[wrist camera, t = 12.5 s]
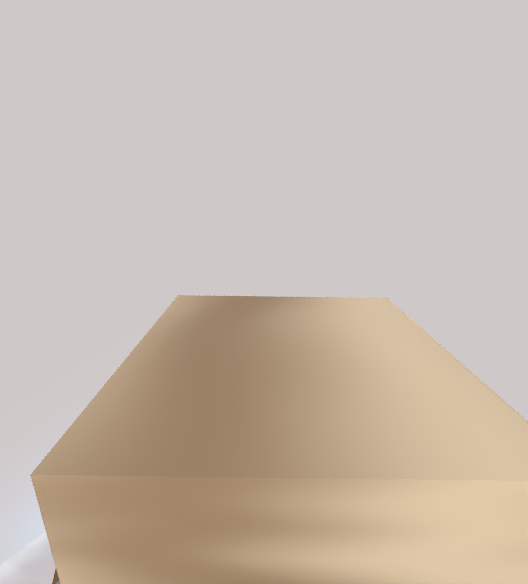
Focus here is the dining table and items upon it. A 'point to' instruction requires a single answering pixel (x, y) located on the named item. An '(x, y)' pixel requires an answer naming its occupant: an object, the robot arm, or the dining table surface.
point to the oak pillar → (289, 455)
